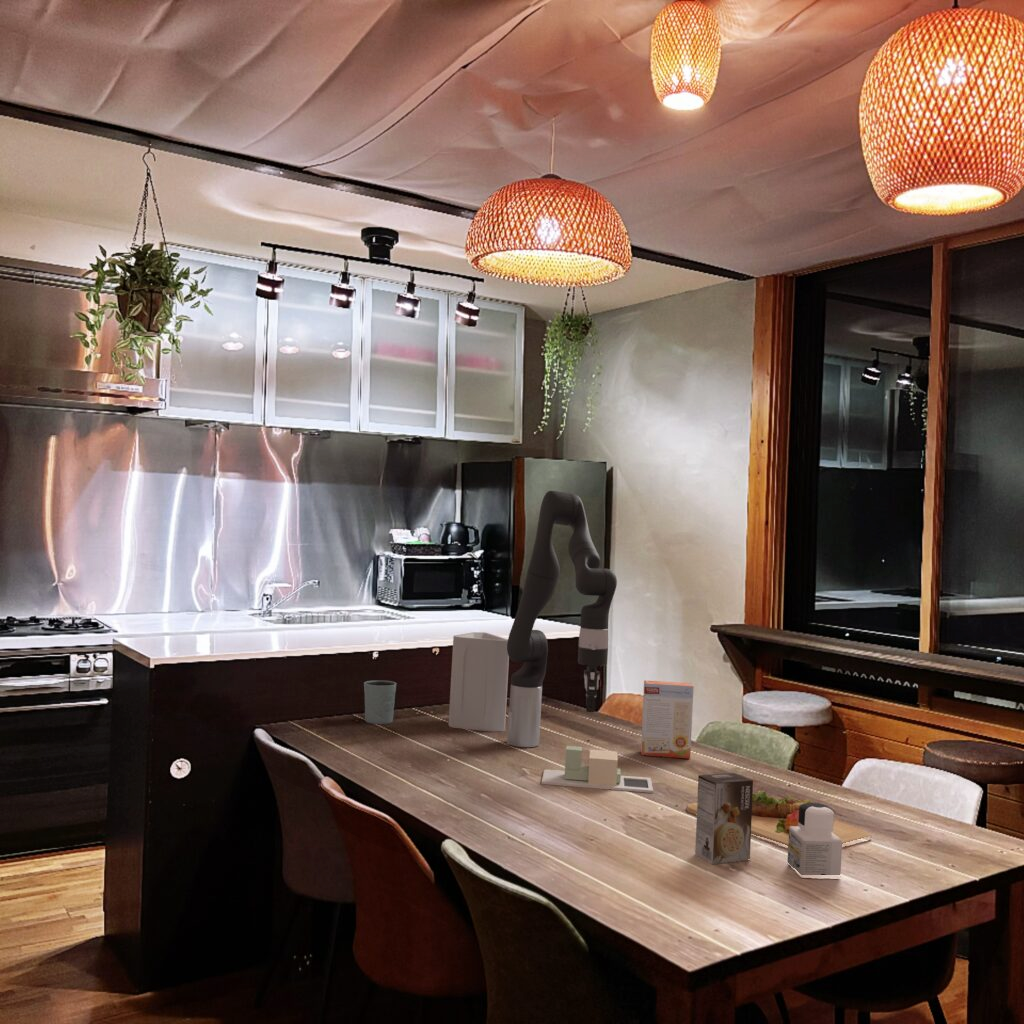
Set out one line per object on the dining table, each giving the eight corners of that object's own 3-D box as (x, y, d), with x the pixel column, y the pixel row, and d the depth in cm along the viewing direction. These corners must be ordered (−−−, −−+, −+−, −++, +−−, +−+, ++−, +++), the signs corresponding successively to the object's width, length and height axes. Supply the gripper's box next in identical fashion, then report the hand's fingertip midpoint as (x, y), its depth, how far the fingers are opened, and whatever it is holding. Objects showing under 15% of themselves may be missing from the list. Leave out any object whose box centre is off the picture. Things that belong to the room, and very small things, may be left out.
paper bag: (438, 719, 307) (443, 632, 307) (480, 717, 314) (485, 632, 314) (461, 733, 290) (466, 640, 290) (505, 730, 296) (510, 640, 297)
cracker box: (688, 754, 279) (692, 682, 279) (690, 759, 273) (694, 686, 273) (640, 750, 280) (643, 679, 280) (640, 755, 274) (644, 682, 274)
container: (786, 864, 190) (790, 799, 190) (824, 865, 191) (827, 800, 191) (801, 879, 182) (805, 811, 182) (841, 880, 183) (844, 812, 183)
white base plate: (541, 783, 239) (543, 755, 239) (544, 771, 251) (545, 744, 251) (653, 793, 236) (654, 764, 236) (650, 780, 248) (652, 753, 248)
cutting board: (874, 842, 209) (876, 807, 209) (808, 860, 195) (810, 823, 195) (747, 799, 237) (749, 769, 238) (681, 812, 223) (683, 780, 224)
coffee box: (731, 850, 197) (735, 771, 197) (750, 861, 191) (755, 780, 191) (693, 854, 193) (697, 774, 193) (712, 865, 187) (716, 783, 187)
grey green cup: (391, 725, 295) (394, 686, 296) (359, 723, 296) (361, 684, 296) (396, 718, 306) (398, 680, 306) (364, 716, 306) (366, 679, 306)
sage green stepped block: (564, 778, 241) (565, 750, 241) (565, 772, 247) (566, 744, 247) (620, 783, 240) (621, 754, 240) (619, 777, 246) (621, 749, 246)
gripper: (578, 641, 255) (575, 703, 254) (578, 648, 241) (575, 713, 240) (606, 643, 254) (604, 704, 254) (608, 649, 240) (605, 715, 240)
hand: (590, 708), depth 247 cm, fingers open, 8 cm apart
